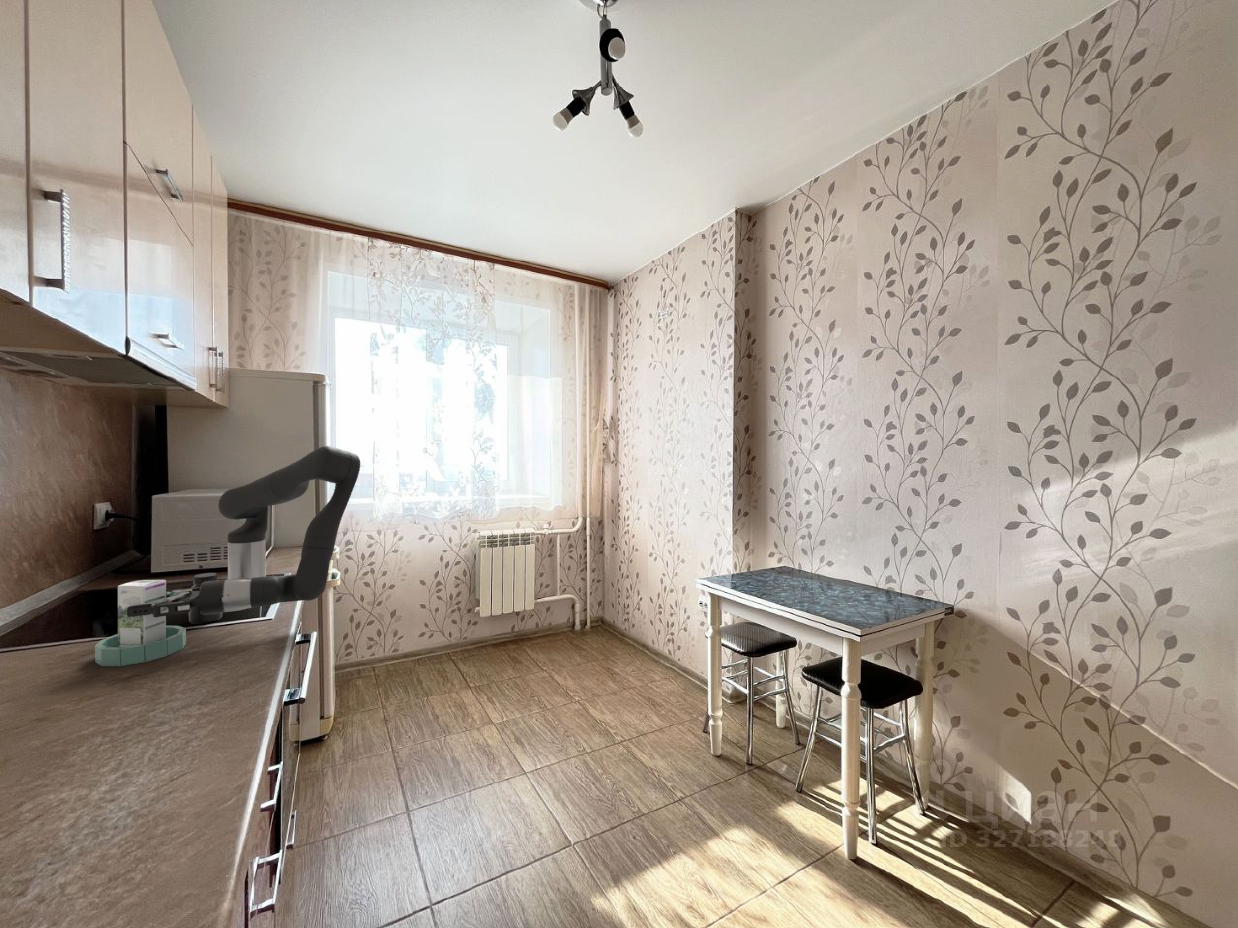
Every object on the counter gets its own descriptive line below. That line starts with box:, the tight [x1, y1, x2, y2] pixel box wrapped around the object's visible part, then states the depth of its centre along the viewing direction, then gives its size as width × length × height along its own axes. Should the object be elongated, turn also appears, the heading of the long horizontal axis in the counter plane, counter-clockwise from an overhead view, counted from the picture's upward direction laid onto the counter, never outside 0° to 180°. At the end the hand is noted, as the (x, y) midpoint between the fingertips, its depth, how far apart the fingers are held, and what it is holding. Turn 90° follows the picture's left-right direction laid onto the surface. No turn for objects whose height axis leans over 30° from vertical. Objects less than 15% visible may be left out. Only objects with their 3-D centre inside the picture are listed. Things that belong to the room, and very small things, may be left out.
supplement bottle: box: [188, 572, 223, 625], centre depth 131 cm, size 7×7×12 cm
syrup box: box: [117, 579, 167, 647], centre depth 110 cm, size 6×6×14 cm
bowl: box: [94, 625, 187, 667], centre depth 110 cm, size 14×14×4 cm
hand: (133, 606), depth 109 cm, fingers open, 8 cm apart
